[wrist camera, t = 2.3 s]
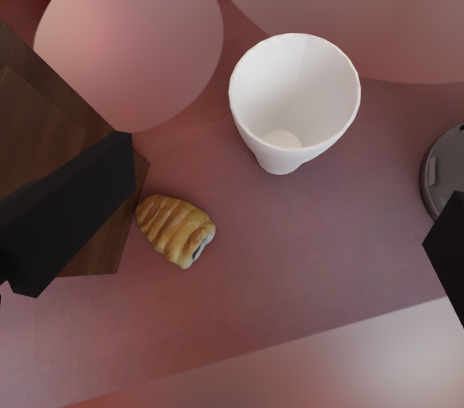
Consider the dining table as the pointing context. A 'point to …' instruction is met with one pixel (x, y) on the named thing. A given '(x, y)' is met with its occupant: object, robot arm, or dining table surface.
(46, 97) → the stove stand
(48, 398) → the dining table surface
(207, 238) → the pastry
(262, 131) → the cup
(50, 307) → the dining table surface
